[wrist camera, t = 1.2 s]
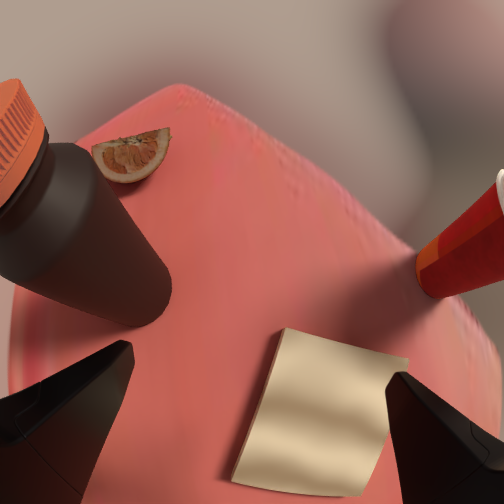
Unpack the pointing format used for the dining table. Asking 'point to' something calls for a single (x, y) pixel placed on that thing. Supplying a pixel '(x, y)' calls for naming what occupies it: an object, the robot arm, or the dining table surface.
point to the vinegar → (70, 224)
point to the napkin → (318, 418)
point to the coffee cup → (466, 249)
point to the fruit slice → (132, 155)
